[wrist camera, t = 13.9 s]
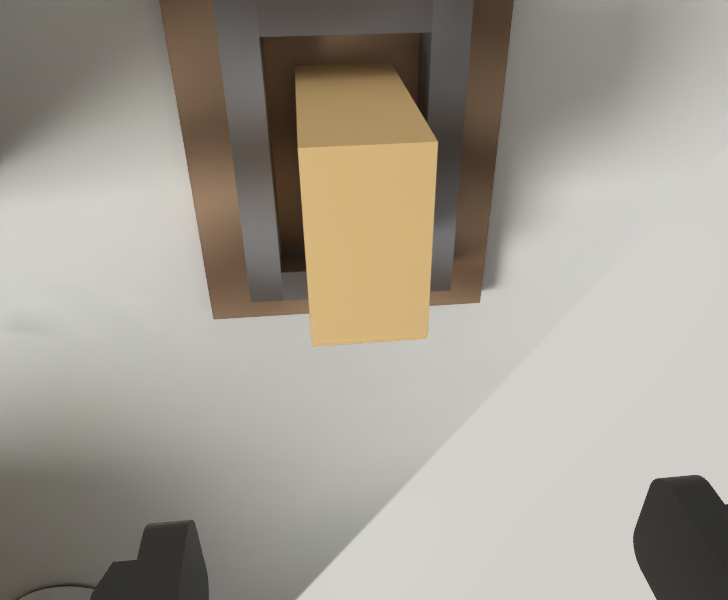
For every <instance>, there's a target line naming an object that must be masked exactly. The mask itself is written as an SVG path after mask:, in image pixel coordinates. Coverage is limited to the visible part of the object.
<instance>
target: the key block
mask: <svg viewBox="0 0 728 600" xmlns="http://www.w3.org/2000/svg"><path fill="white" fill-rule="evenodd" d="M295 86H296V114H297V142H298V159H299V173H300V187H301V201H302V215H303V229H304V243H305V257H306V271H307V285H308V299H309V313H310V327H311V340H312V347H313V346H327V345H341V344H356V343H370V342H384V341H398V340H413V339H427V337H428V318H429V300H430V281H431V263H432V244H433V226H434V207H435V189H436V171H437V152H438V141H437V139H436V137H435V136H434V134H433V132H432V131H431V129H430V127H429V126H428V124H427V122H426V121H425V119H424V117H423V116H422V114H421V112H420V111H419V109H418V107H417V106H416V104H415V102H414V100H413V99H412V97H411V95H410V94H409V92H408V90H407V89H406V87H405V85H404V84H403V82H402V80H401V79H400V77H399V75H398V74H397V72H396V70H395V69H394V67H393V65H392V63H391V62H379V63H351V64H322V65H295Z"/></svg>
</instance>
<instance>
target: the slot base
mask: <svg viewBox="0 0 728 600" xmlns="http://www.w3.org/2000/svg"><path fill="white" fill-rule="evenodd" d="M513 1H514V0H160V6H161V12H162V18H163V23H164V29H165V35H166V41H167V47H168V53H169V59H170V65H171V71H172V77H173V83H174V89H175V94H176V100H177V106H178V112H179V118H180V124H181V130H182V136H183V142H184V148H185V154H186V160H187V165H188V171H189V177H190V183H191V189H192V195H193V201H194V207H195V213H196V219H197V225H198V231H199V236H200V242H201V248H202V254H203V260H204V266H205V272H206V278H207V284H208V290H209V296H210V302H211V307H212V313H213V319H227V318H243V317H259V316H274V315H290V314H306V313H309V299H308V285H307V271H306V257H305V243H304V229H303V215H302V201H301V187H300V173H299V159H298V142H297V114H296V86H295V65H322V64H351V63H379V62H391V63H392V65H393V67H394V69H395V70H396V72H397V74H398V75H399V77H400V79H401V80H402V82H403V84H404V85H405V87H406V89H407V90H408V92H409V94H410V95H411V97H412V99H413V100H414V102H415V104H416V106H417V107H418V109H419V111H420V112H421V114H422V116H423V117H424V119H425V121H426V122H427V124H428V126H429V127H430V129H431V131H432V132H433V134H434V136H435V137H436V139H437V141H438V152H437V171H436V189H435V207H434V226H433V244H432V263H431V281H430V300H429V306H434V305H450V304H466V303H480V296H481V287H482V278H483V270H484V261H485V252H486V243H487V234H488V225H489V216H490V207H491V198H492V189H493V180H494V171H495V162H496V153H497V144H498V135H499V126H500V117H501V108H502V99H503V90H504V81H505V72H506V64H507V55H508V46H509V37H510V28H511V19H512V10H513Z"/></svg>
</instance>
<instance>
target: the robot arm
mask: <svg viewBox="0 0 728 600" xmlns="http://www.w3.org/2000/svg"><path fill="white" fill-rule="evenodd" d="M633 543H634V550H635V555H636V558H637V561H638V564H639V566H640V569H641V571H642V572H643V574H644V576H645V578H646V580H647V582H648V584H649V586H650V588H651V590H652V591H653V593H654V595H655V597H656V599H657V600H728V504H727V505H725V504H724V503H723V501H722V500H721V499H720V497H719V496H718V494H717V493H716V492H715V490H714V489H713V488H712V486H711V485H710V484H709V482H708V481H707V480H705V478H703V477H701V476H699V475H690V476H680V477H669V478H658V479H655V480H653V482H652V483H651V485H650V487H649V491H648V493H647V496H646V499H645V502H644V504H643V507H642V510H641V513H640V516H639V519H638V521H637V524H636V527H635V530H634V536H633ZM19 600H209V588H208V576H207V570H206V566H205V562H204V558H203V554H202V550H201V546H200V541H199V537H198V533H197V529H196V525H195V522H194V521H193V520H186V521H175V522H164V523H153V524H148V525H147V526H146V527H145V529H144V532H143V536H142V540H141V544H140V549H139V553H138V558H137V560H130V561H120V562H113V563H112V565H111V566H110V567H109V569H108V570H107V572H106V573H105V575H104V576H103V578H102V579H101V581H100V582H99V583H98V585H97V586H96V588H95V589H90V588H85V587H73V586H67V587H53V588H46V589H42V590H38V591H35V592H32V593H29V594H27V595H26V596H24V597H22V598H20V599H19Z"/></svg>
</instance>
